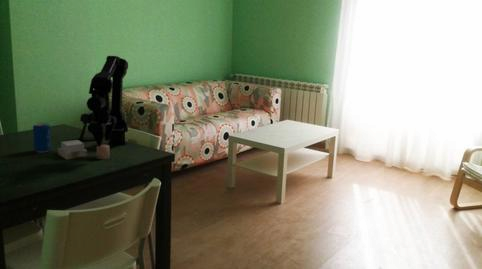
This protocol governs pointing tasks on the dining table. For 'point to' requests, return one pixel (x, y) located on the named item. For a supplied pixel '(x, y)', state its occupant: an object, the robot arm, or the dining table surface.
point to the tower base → (71, 154)
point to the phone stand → (84, 133)
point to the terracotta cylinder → (103, 151)
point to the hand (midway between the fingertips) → (103, 143)
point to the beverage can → (41, 137)
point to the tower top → (72, 146)
